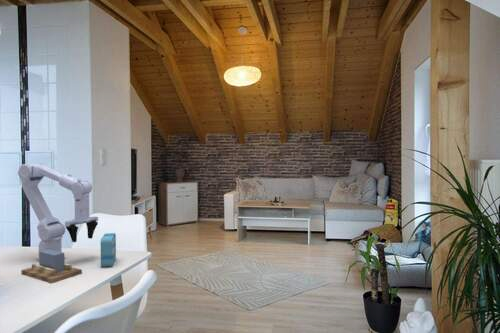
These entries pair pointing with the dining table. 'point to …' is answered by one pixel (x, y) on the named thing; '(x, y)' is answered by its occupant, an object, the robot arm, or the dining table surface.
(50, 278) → the shelf board
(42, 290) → the dining table surface
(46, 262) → the slate blue book
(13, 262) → the dining table surface
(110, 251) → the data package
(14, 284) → the dining table surface
